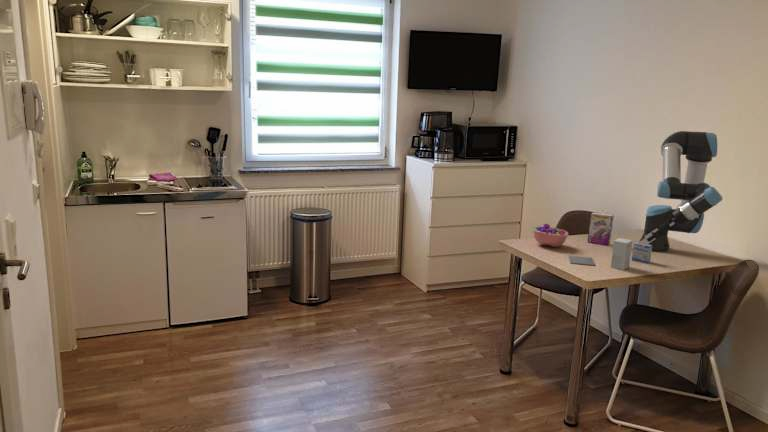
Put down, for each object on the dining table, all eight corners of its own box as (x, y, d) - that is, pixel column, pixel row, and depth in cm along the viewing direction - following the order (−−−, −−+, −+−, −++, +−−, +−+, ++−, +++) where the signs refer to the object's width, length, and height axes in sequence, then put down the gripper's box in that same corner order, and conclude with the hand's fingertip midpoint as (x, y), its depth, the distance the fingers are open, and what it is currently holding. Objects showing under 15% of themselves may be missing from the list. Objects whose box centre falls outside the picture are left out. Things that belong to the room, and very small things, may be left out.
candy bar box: (587, 242, 313) (590, 213, 310) (589, 240, 317) (592, 212, 314) (608, 246, 307) (612, 216, 304) (610, 244, 312) (614, 214, 308)
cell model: (552, 252, 290) (554, 230, 288) (524, 242, 307) (525, 222, 305) (574, 248, 299) (577, 227, 297) (546, 239, 316) (548, 220, 313)
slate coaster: (591, 258, 281) (591, 257, 281) (594, 265, 269) (594, 264, 269) (568, 256, 284) (568, 255, 283) (570, 263, 271) (570, 262, 271)
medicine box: (631, 260, 281) (633, 243, 279) (633, 258, 284) (635, 241, 283) (648, 263, 276) (650, 246, 274) (650, 261, 280) (652, 244, 278)
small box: (615, 263, 274) (619, 237, 271) (629, 266, 270) (633, 240, 267) (610, 267, 268) (613, 240, 265) (623, 270, 264) (627, 243, 261)
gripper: (688, 225, 238) (645, 253, 249) (694, 216, 259) (653, 242, 270) (676, 211, 240) (633, 240, 251) (682, 203, 261) (643, 230, 271)
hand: (644, 241), depth 260 cm, fingers open, 13 cm apart
